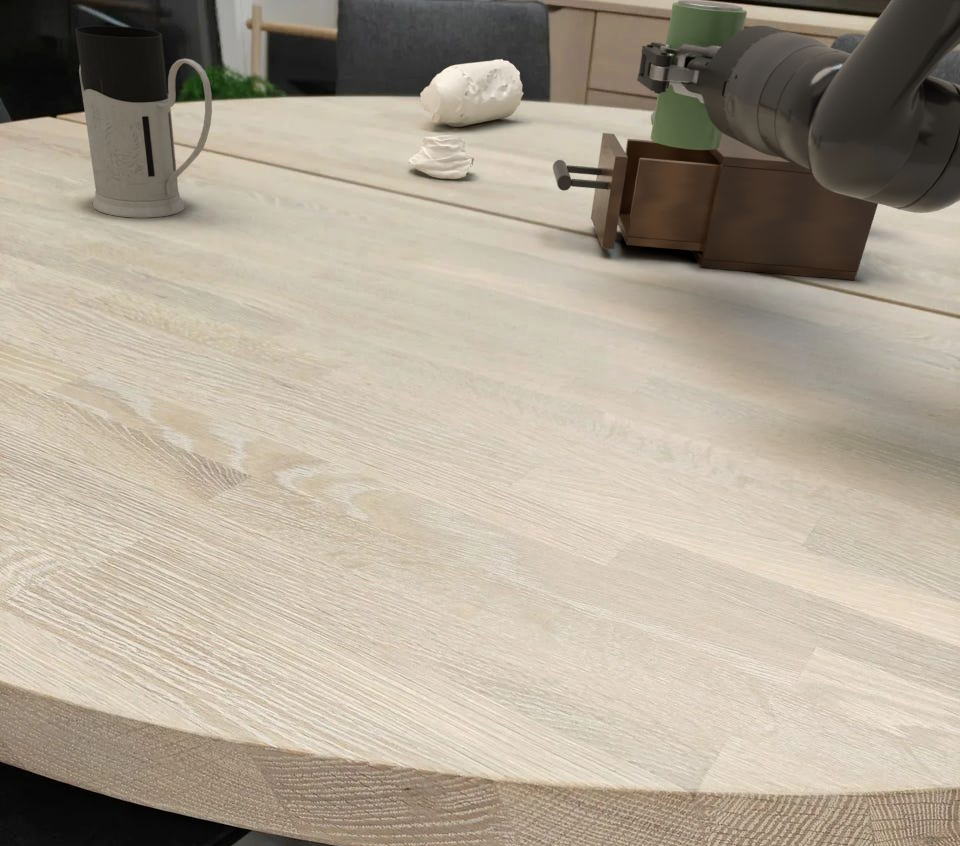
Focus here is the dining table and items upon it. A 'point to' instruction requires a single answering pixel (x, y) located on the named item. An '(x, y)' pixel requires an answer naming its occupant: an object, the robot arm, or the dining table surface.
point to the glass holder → (133, 120)
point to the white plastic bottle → (473, 93)
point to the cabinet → (781, 219)
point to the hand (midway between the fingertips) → (688, 59)
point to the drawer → (648, 193)
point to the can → (702, 25)
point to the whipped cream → (443, 157)
